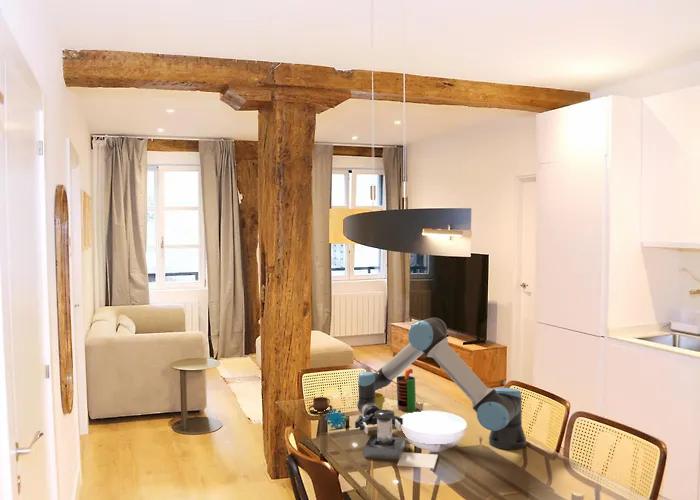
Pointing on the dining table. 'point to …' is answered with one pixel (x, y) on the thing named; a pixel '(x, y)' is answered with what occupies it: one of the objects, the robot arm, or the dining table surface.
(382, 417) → the flanged shaft
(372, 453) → the housing
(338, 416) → the gear
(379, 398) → the plant pot
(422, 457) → the pad
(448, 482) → the dining table surface
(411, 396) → the motor
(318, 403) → the cup and saucer
